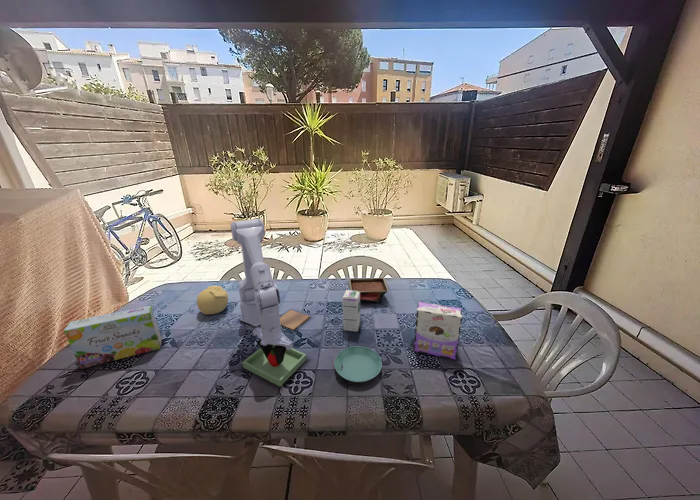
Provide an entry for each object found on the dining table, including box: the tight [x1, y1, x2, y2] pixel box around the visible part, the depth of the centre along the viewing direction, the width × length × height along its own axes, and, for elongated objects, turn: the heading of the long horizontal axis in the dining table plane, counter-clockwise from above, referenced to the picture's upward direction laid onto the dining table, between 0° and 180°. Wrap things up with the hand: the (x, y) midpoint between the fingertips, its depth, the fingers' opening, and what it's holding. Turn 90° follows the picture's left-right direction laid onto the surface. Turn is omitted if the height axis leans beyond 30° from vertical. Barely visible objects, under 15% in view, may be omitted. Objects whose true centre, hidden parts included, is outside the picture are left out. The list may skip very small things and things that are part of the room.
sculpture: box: [196, 285, 229, 316], centre depth 114 cm, size 12×12×11 cm
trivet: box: [280, 309, 311, 331], centre depth 109 cm, size 10×10×1 cm
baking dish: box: [347, 277, 390, 304], centre depth 124 cm, size 14×18×10 cm
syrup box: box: [341, 289, 361, 333], centre depth 102 cm, size 6×6×14 cm
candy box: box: [412, 301, 463, 360], centre depth 90 cm, size 14×6×16 cm, turn 71°
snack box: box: [63, 305, 163, 370], centre depth 88 cm, size 21×6×15 cm, turn 117°
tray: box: [241, 345, 307, 388], centre depth 86 cm, size 15×12×2 cm
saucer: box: [333, 345, 383, 384], centre depth 84 cm, size 15×15×3 cm
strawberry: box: [268, 350, 279, 367], centre depth 85 cm, size 4×4×5 cm
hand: (275, 359), depth 86 cm, fingers closed on strawberry, 4 cm apart
